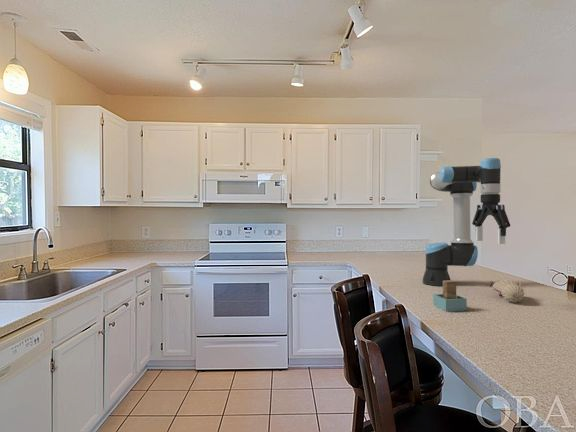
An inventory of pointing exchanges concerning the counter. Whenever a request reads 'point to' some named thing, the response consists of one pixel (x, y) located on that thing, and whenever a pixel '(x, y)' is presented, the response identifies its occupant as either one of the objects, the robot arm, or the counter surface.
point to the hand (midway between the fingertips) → (490, 242)
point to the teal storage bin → (450, 303)
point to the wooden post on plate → (449, 289)
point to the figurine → (509, 290)
